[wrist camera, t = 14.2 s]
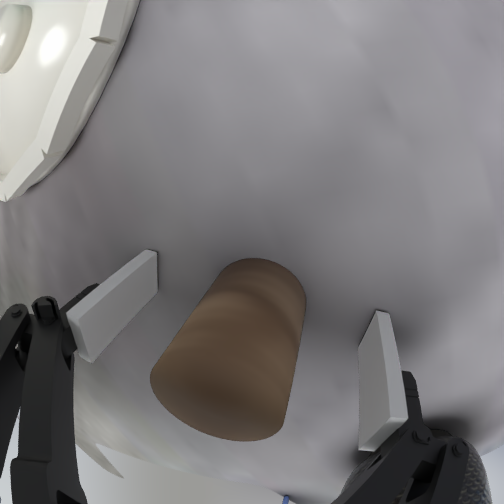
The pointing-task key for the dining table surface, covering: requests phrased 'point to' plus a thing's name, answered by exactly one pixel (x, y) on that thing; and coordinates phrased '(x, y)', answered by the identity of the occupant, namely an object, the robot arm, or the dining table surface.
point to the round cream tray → (52, 79)
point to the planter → (474, 485)
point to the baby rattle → (285, 500)
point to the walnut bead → (236, 354)
